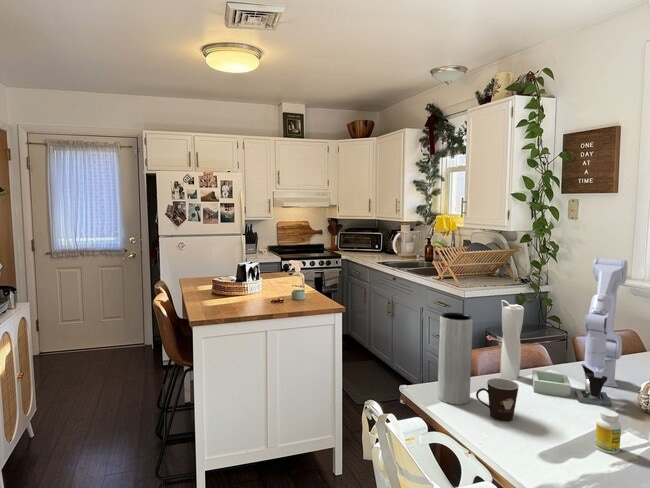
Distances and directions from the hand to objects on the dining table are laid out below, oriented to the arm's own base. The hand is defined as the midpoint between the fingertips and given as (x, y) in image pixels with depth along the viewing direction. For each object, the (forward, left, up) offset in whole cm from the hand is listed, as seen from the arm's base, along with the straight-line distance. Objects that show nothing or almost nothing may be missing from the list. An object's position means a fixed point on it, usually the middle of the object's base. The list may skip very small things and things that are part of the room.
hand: (592, 391), depth 149 cm
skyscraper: (-11, -25, -3) cm, 27 cm away
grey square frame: (0, 0, -2) cm, 2 cm away
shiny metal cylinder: (0, 0, -2) cm, 2 cm away
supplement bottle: (+34, -2, -3) cm, 34 cm away
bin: (-4, -12, -2) cm, 13 cm away
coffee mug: (+25, -29, -3) cm, 38 cm away
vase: (+17, -42, -3) cm, 45 cm away
